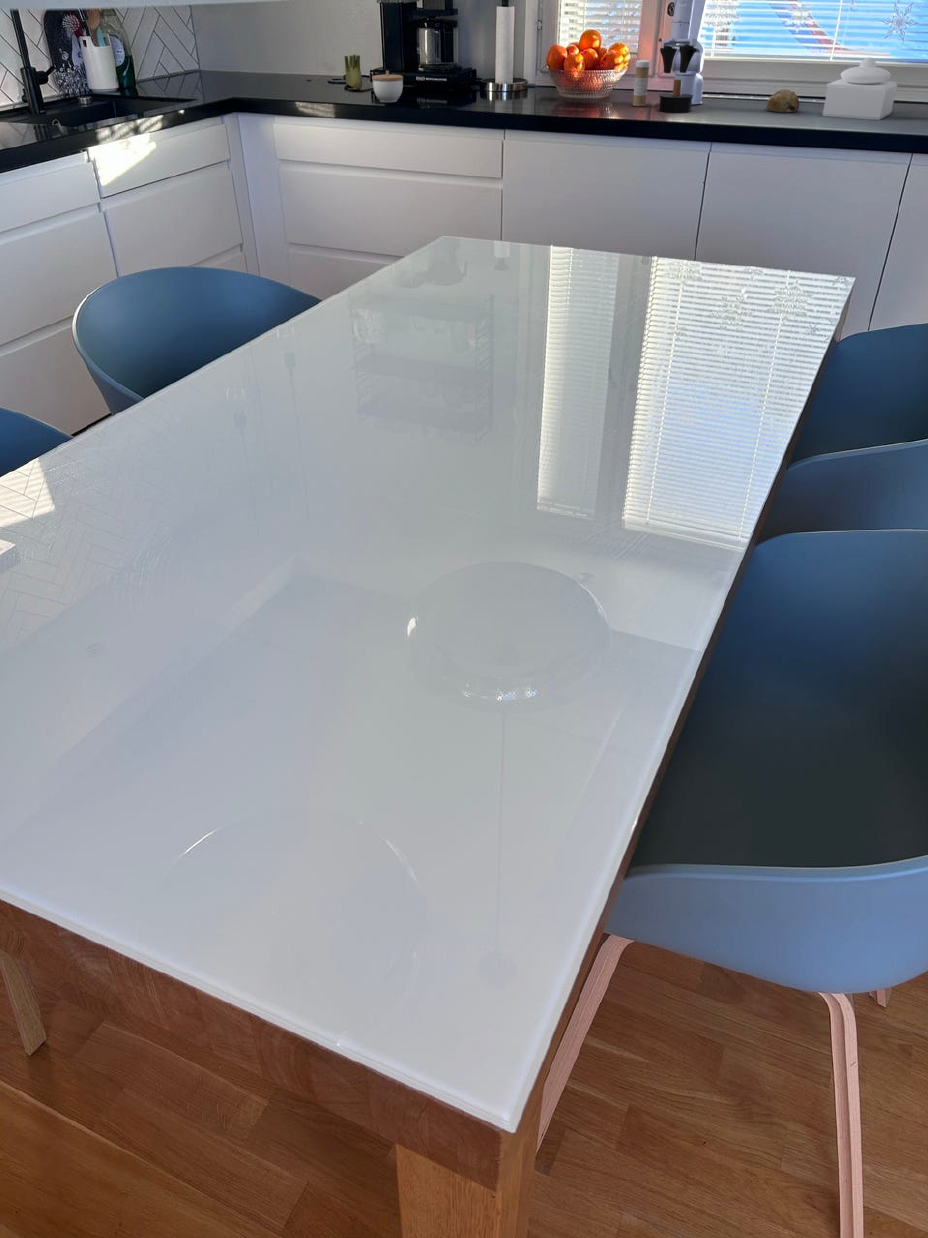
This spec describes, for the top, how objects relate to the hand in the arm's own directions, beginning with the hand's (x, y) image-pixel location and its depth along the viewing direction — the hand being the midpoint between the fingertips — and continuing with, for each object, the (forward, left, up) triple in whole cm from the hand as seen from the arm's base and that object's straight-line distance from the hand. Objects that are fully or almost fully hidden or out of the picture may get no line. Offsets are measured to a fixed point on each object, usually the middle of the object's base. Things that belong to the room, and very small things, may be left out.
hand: (674, 72), depth 307 cm
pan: (-1, +1, -11) cm, 11 cm away
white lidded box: (-45, +38, -11) cm, 60 cm away
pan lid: (-1, +1, -7) cm, 7 cm away
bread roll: (-31, +19, -11) cm, 38 cm away
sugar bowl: (+68, -72, -11) cm, 100 cm away
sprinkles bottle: (+1, -15, -11) cm, 19 cm away
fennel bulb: (+65, -107, -11) cm, 126 cm away
